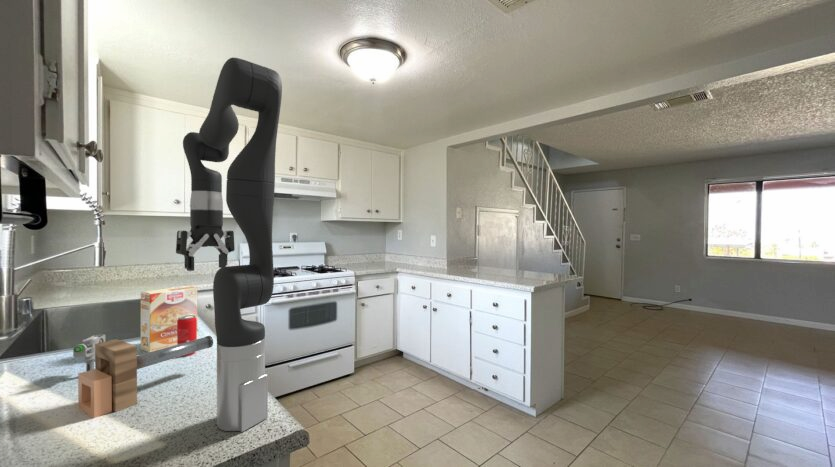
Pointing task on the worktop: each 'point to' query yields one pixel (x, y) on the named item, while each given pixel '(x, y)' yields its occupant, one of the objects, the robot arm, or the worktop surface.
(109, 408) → the orange block with hole
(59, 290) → the worktop surface
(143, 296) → the coffeecake box
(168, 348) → the shaft
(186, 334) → the beverage can
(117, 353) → the bearing block
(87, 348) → the mechanical component
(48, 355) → the worktop surface
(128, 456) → the worktop surface
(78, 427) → the worktop surface
